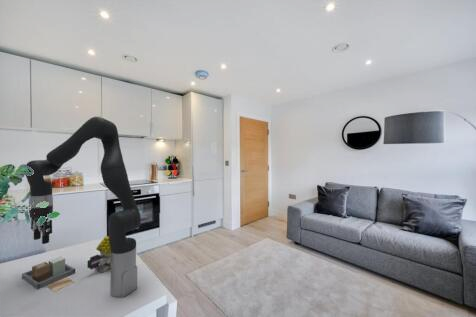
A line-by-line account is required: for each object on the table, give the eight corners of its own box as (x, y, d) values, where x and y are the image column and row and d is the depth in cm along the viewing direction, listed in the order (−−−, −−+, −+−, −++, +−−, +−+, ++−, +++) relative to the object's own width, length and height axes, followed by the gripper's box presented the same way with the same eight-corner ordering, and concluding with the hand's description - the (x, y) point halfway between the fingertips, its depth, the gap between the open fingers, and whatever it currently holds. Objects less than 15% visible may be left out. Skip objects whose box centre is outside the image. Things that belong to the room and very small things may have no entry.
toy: (82, 274, 93) (82, 242, 93) (110, 261, 105) (111, 233, 104) (93, 280, 89) (93, 247, 88) (122, 266, 100) (122, 236, 100)
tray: (75, 274, 93) (75, 268, 93) (37, 290, 81) (37, 284, 81) (58, 265, 100) (58, 260, 100) (22, 279, 89) (22, 273, 89)
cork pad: (74, 283, 87) (74, 281, 87) (53, 293, 80) (53, 291, 80) (66, 278, 90) (66, 277, 90) (46, 287, 83) (46, 286, 83)
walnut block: (49, 277, 89) (49, 264, 89) (36, 283, 85) (36, 269, 85) (45, 274, 91) (45, 261, 91) (31, 280, 87) (31, 266, 87)
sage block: (65, 271, 94) (65, 258, 94) (53, 276, 90) (53, 263, 90) (60, 268, 96) (60, 256, 96) (48, 273, 92) (48, 260, 92)
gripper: (59, 205, 88) (59, 241, 88) (45, 201, 95) (45, 235, 95) (36, 209, 81) (36, 248, 82) (23, 204, 88) (22, 241, 88)
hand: (41, 241), depth 88 cm, fingers open, 8 cm apart
